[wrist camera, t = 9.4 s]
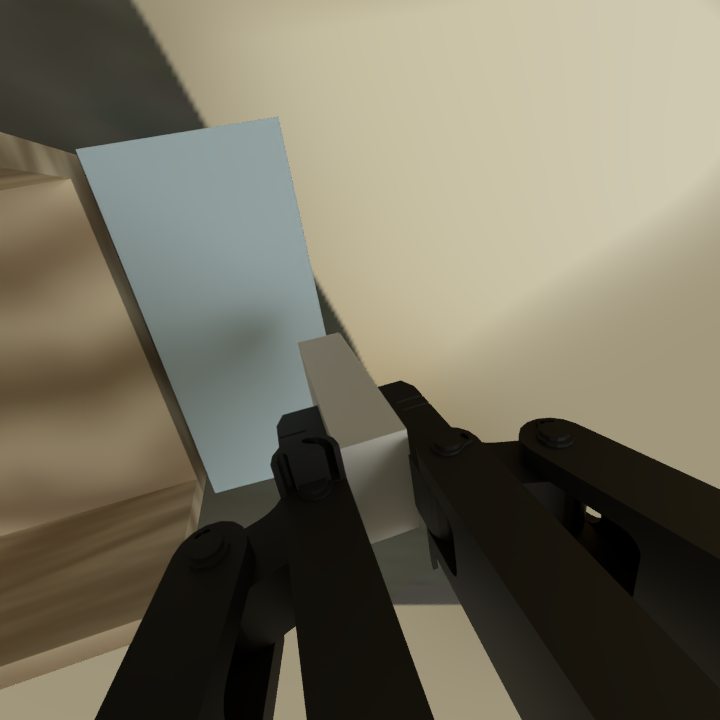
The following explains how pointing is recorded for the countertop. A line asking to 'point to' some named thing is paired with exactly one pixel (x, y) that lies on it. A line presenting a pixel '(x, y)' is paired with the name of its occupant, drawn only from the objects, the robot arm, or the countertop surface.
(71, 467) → the crate
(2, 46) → the countertop surface
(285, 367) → the panel
